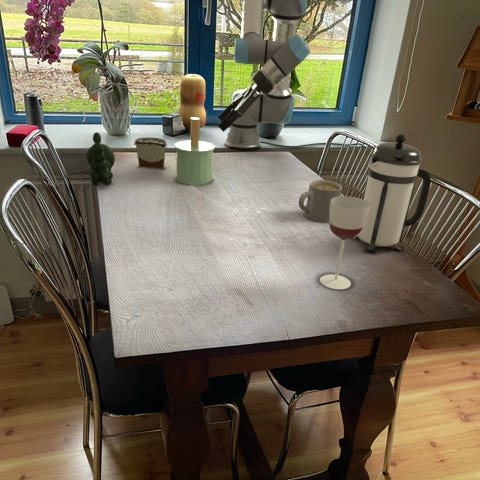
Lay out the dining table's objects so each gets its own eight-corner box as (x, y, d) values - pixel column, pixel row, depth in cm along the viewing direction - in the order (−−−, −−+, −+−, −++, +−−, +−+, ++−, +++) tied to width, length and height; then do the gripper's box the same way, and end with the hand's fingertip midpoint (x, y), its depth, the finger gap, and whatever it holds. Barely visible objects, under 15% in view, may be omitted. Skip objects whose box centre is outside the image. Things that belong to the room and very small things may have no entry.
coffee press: (397, 261, 133) (428, 146, 116) (342, 245, 139) (363, 134, 123) (415, 240, 145) (445, 134, 129) (363, 226, 152) (385, 123, 136)
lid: (201, 142, 182) (202, 113, 176) (221, 152, 173) (223, 121, 167) (167, 146, 175) (167, 115, 170) (187, 156, 166) (187, 124, 160)
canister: (200, 172, 187) (201, 141, 181) (218, 182, 179) (219, 150, 173) (170, 177, 181) (170, 144, 175) (187, 187, 173) (187, 153, 166)
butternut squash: (188, 135, 235) (189, 77, 221) (172, 129, 243) (171, 73, 229) (211, 132, 243) (213, 76, 229) (195, 127, 251) (195, 72, 237)
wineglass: (314, 273, 124) (327, 195, 113) (348, 274, 125) (364, 196, 114) (321, 289, 117) (335, 208, 106) (357, 290, 118) (374, 209, 107)
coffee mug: (330, 210, 162) (335, 179, 157) (341, 222, 154) (347, 190, 149) (291, 210, 160) (295, 179, 154) (300, 222, 152) (304, 190, 146)
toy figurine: (116, 196, 166) (115, 167, 185) (112, 139, 154) (111, 114, 173) (87, 196, 164) (89, 167, 183) (80, 138, 152) (83, 113, 171)
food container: (170, 165, 193) (170, 138, 188) (167, 169, 188) (166, 142, 183) (139, 162, 194) (138, 135, 188) (135, 166, 189) (133, 139, 183)
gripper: (278, 93, 154) (228, 141, 161) (271, 81, 175) (227, 124, 182) (263, 73, 151) (212, 123, 158) (257, 64, 171) (213, 108, 179)
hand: (220, 124), depth 170 cm, fingers open, 13 cm apart
